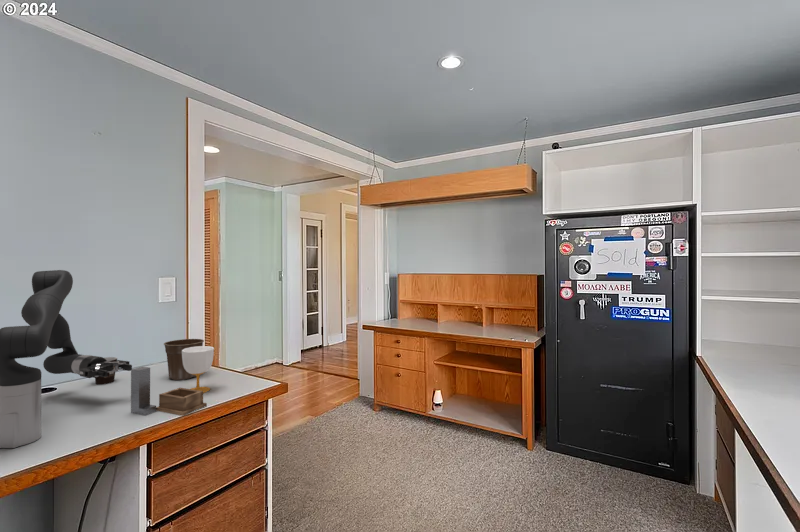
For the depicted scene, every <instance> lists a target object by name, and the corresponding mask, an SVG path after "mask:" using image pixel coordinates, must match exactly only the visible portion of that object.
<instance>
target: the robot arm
mask: <svg viewBox="0 0 800 532" xmlns="http://www.w3.org/2000/svg"><path fill="white" fill-rule="evenodd" d="M73 283H74V280H73V275H72V274H71V272H69V271H68V270H64V269H56V270H55V269H54V270H41V271H40V270H38V271H36V272H34V273H33V274H32V277H31V288H32V291H33V294H32V295H30V296H29V297H28V299H27V300H26V301H25V303H24V304H23V306H22V308H21V313H20V314H21V317H22V319H23V321H25V323H26V324H28V325H18V326H17V325H16V326H5V327H1V328H0V449H15V448H17V447H20V446H25V445H29V444H31V443H35V442H36V441H38V440H39V439H40V438H42V370H41V369H40V368H38V367H32V366H27V365H24V364H21V363H19V362H18V361H16V359H25V358H26V359H28V358H35V357H39V356H41V355H43V354H44V353H45V352H46V351H47V348H48V349H50V350H51V349H52V350H58V349H59V350H60V349H62V351H60V352H57V353H54V354H50V355H48V356H47V357H46V358H45V359H44V361H43V362H42V363H43V364H42V365H43V368H44V370H45V371H46V372H47V373H50V374H54V375H58V374H60V375H61V374H62V375H63V374H76V375H78V376H80V377H83V378H88V379H91V378H94V379H95V377H99V376H100V377H107V376H108V372H115V373H117V372H118V371H128V372H131V369H133V365H132V364H130V361H128V360H123V359H122V360H121V359H117V361H116V362H110V361H108V362H107V360H106V359H105V358H106V357H103V356H97V355H91V354H80V353H78V351H77V350H76V347H75V346H74V344H73V341H72V338H71V330H70V325H69V322H68V321H67V319H66V318H65V317H64V316H63V315H62V314H61V312H60V311H61V310H62V307H63V303H64V302H65V300H66V299H67V297H68V296H69V294H70V293H71V291H72V289H73ZM114 366H115V370H113V368H114Z"/></svg>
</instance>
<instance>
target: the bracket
mask: <svg viewBox="0 0 800 532" xmlns="http://www.w3.org/2000/svg"><path fill="white" fill-rule="evenodd" d="M156 407H157V405H154V404H151V367H149V366H148V367H147V366H138V367H134V368H132V369H131V371H130V413H131V414H136V415H141V416H147V415H151V414H152V413H156V412H157V411H156Z"/></svg>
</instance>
